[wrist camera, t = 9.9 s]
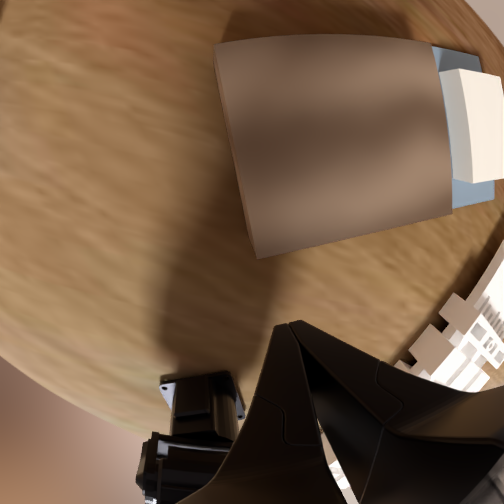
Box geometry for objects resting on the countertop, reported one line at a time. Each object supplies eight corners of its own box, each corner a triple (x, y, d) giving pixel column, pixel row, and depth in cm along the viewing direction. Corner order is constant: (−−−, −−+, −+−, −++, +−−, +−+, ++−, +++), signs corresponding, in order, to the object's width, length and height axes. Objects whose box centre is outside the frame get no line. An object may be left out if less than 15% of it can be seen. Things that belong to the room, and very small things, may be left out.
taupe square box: (420, 202, 21) (452, 213, 18) (249, 238, 21) (257, 259, 17) (399, 54, 17) (430, 43, 13) (213, 63, 16) (213, 44, 13)
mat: (491, 198, 22) (494, 199, 22) (429, 212, 22) (432, 213, 21) (475, 57, 17) (478, 56, 17) (406, 44, 17) (409, 42, 16)
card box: (473, 183, 18) (452, 178, 21) (510, 177, 18) (491, 172, 21) (458, 68, 15) (438, 72, 17) (499, 77, 15) (480, 78, 18)
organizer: (298, 485, 26) (524, 240, 19) (290, 455, 31) (491, 225, 24) (365, 489, 30) (544, 297, 23) (355, 465, 35) (520, 282, 28)
